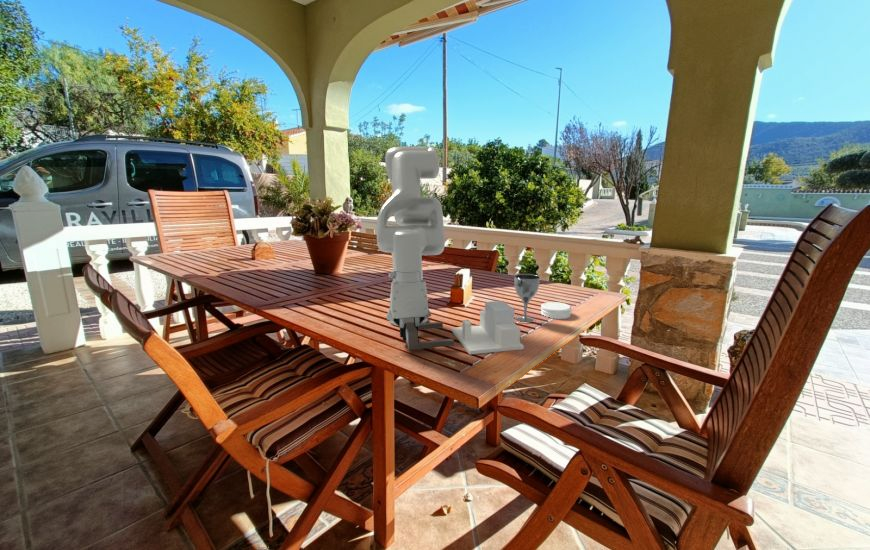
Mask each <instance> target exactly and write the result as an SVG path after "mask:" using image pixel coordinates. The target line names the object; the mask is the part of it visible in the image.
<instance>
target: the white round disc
mask: <svg viewBox="0 0 870 550" xmlns="http://www.w3.org/2000/svg"><path fill="white" fill-rule="evenodd" d="M571 313H572V307H571V305H569V304H567V303H564V302H559V301H556V302H555V301H546V302H544V303H542V304H541V305H540V314H541V315H542V316H543V315H544V316H543V317H545V316H546V317H545V318H547V317H550V318H549V319H552V318H554V319H553V320H564V319H569V318H570V317H571Z"/></svg>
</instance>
